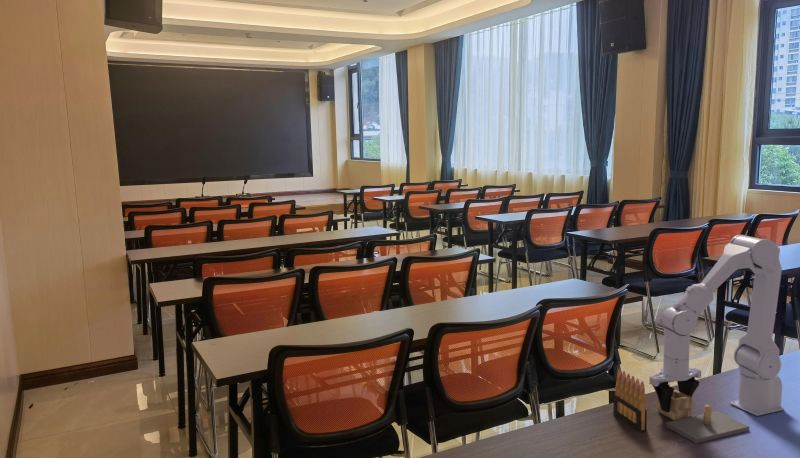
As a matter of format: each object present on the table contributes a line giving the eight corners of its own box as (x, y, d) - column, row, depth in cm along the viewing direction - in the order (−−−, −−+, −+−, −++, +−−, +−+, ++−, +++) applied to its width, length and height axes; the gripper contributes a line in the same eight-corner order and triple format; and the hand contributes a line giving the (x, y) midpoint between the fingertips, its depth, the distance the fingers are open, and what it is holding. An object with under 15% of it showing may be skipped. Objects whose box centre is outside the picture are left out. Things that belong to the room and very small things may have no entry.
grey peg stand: (716, 415, 148) (717, 392, 147) (748, 430, 139) (750, 406, 139) (665, 426, 142) (666, 403, 142) (696, 443, 134) (697, 418, 133)
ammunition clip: (646, 430, 141) (648, 382, 139) (640, 431, 140) (641, 383, 139) (619, 412, 151) (620, 366, 149) (613, 413, 151) (614, 367, 149)
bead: (674, 408, 152) (675, 389, 152) (691, 416, 147) (692, 397, 147) (657, 411, 151) (658, 392, 150) (674, 420, 146) (674, 400, 145)
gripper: (686, 347, 153) (684, 397, 155) (641, 355, 148) (639, 407, 150) (709, 355, 147) (706, 408, 148) (662, 364, 142) (660, 418, 144)
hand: (674, 408), depth 149 cm, fingers closed on bead, 5 cm apart
